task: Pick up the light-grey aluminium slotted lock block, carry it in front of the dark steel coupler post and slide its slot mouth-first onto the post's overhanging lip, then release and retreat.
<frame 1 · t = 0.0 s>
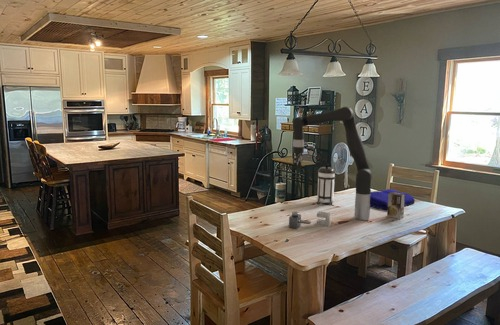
hand: (297, 169, 262), 29 cm above the table, fingers open, 8 cm apart
coffee box: (395, 217, 253), on the table
lock block: (322, 224, 235), on the table
coffee press: (325, 203, 284), on the table
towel: (386, 204, 286), on the table
coupler: (294, 226, 231), on the table
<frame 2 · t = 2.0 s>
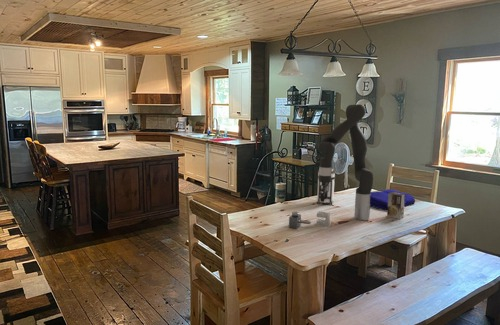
hand: (323, 199, 233), 16 cm above the table, fingers open, 8 cm apart
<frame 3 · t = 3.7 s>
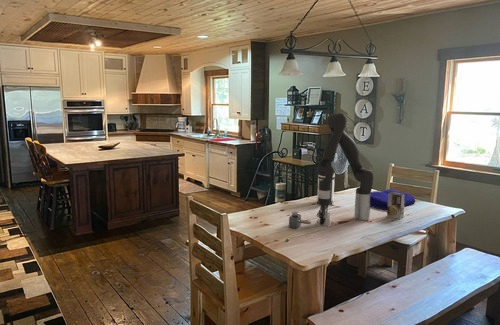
hand: (322, 223, 235), 1 cm above the table, fingers closed on lock block, 5 cm apart
lock block: (322, 224, 235), on the table, touching gripper
everything else where it was.
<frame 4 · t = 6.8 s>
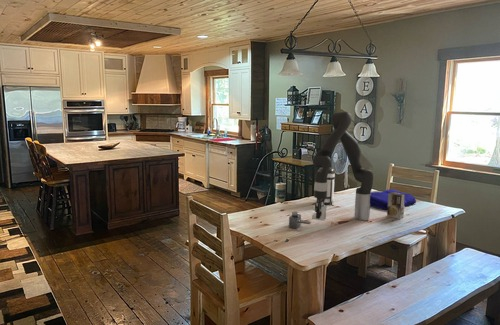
hand: (319, 217, 223), 8 cm above the table, fingers closed on lock block, 5 cm apart
lock block: (319, 218, 223), point 7 cm above the table, touching gripper
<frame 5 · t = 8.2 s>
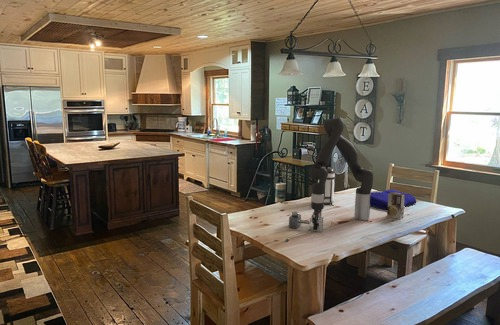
hand: (316, 228, 225), 1 cm above the table, fingers closed on lock block, 5 cm apart
lock block: (316, 229, 225), on the table, touching gripper
when the fingers open (1 cm above the table, at t = 9.5 s): lock block stays where it is, on the table.
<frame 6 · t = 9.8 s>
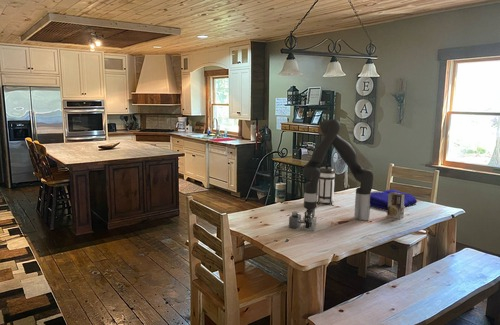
hand: (309, 226, 227), 2 cm above the table, fingers open, 7 cm apart
lock block: (309, 229, 227), on the table
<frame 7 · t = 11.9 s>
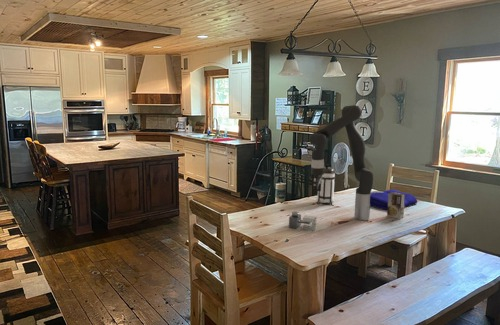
hand: (317, 192, 229), 21 cm above the table, fingers open, 8 cm apart
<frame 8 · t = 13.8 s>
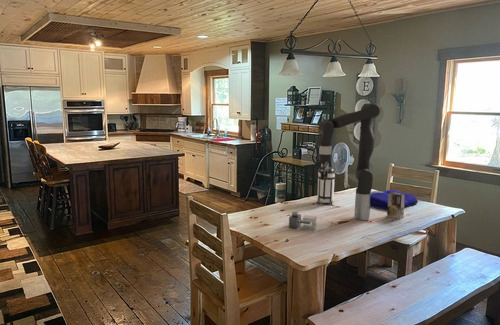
hand: (324, 178, 237), 28 cm above the table, fingers open, 8 cm apart
at the end: lock block 0.5 cm from the target spot, on the table; lock block tilted 0°; the gripper is holding nothing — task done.
